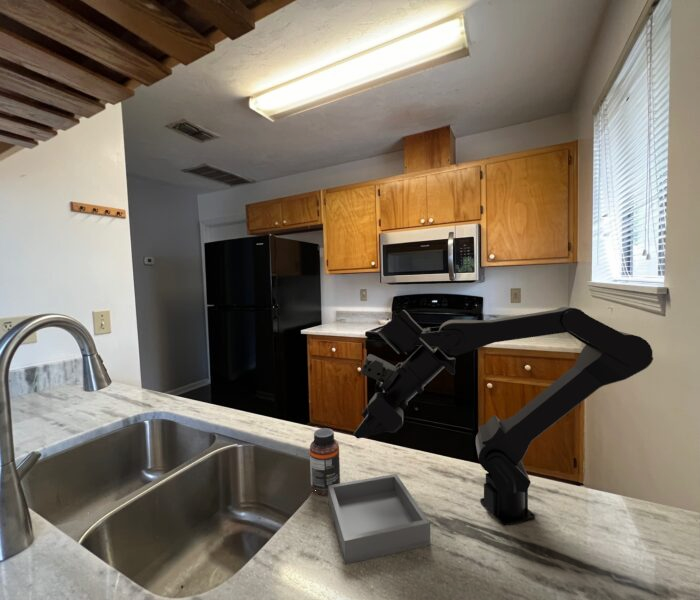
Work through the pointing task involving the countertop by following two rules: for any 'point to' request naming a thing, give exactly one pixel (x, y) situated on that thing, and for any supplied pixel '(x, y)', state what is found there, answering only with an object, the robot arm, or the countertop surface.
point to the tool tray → (376, 518)
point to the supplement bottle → (324, 461)
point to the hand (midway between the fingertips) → (359, 425)
